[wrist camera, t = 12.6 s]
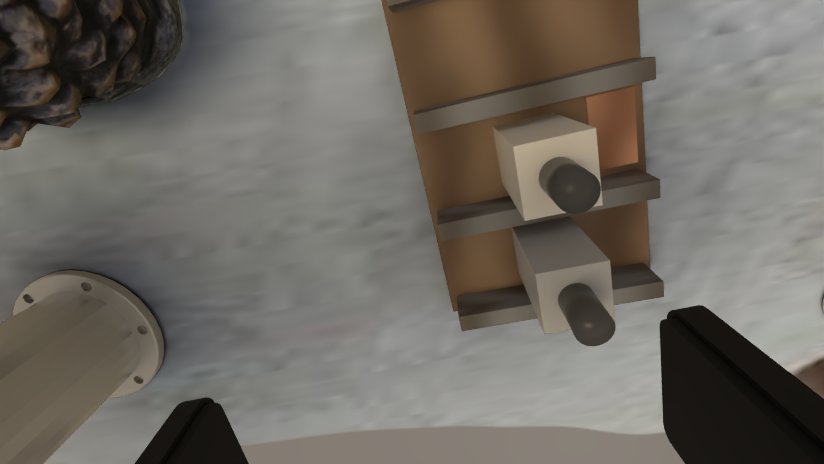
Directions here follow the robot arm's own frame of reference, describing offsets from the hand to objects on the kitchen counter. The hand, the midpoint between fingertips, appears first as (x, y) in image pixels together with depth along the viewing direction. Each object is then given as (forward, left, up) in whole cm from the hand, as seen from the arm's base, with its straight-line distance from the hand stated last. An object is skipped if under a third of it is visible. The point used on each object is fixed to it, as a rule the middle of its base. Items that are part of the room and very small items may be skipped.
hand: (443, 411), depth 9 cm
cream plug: (+6, 0, -22) cm, 23 cm away
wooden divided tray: (+6, 0, -24) cm, 24 cm away
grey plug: (+6, -7, -22) cm, 24 cm away
